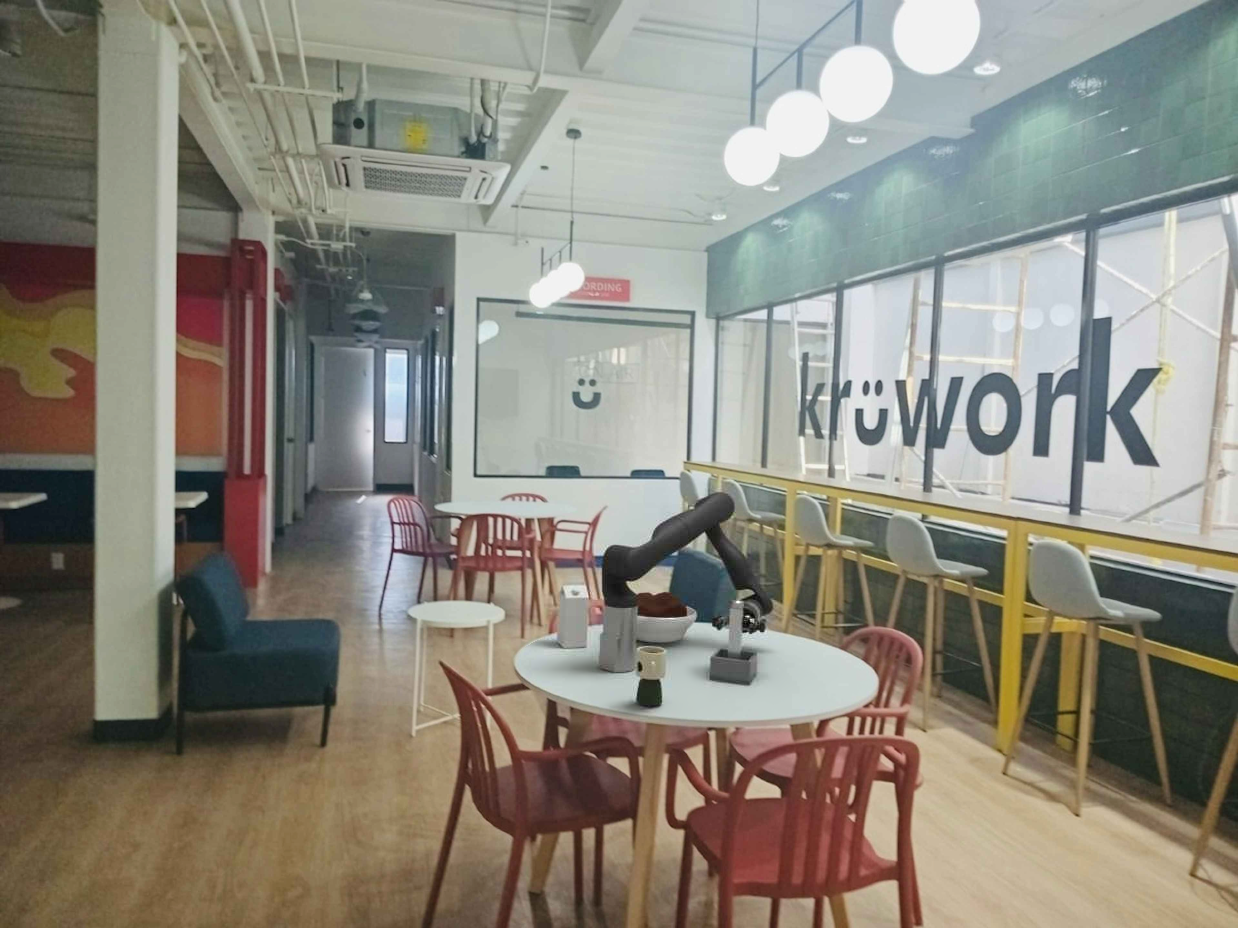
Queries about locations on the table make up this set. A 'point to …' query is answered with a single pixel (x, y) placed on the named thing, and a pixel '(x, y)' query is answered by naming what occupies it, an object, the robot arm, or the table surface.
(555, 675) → the table surface
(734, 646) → the brushed steel column
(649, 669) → the character mug
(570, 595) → the milk carton
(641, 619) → the bowl of brownies
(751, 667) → the holder
